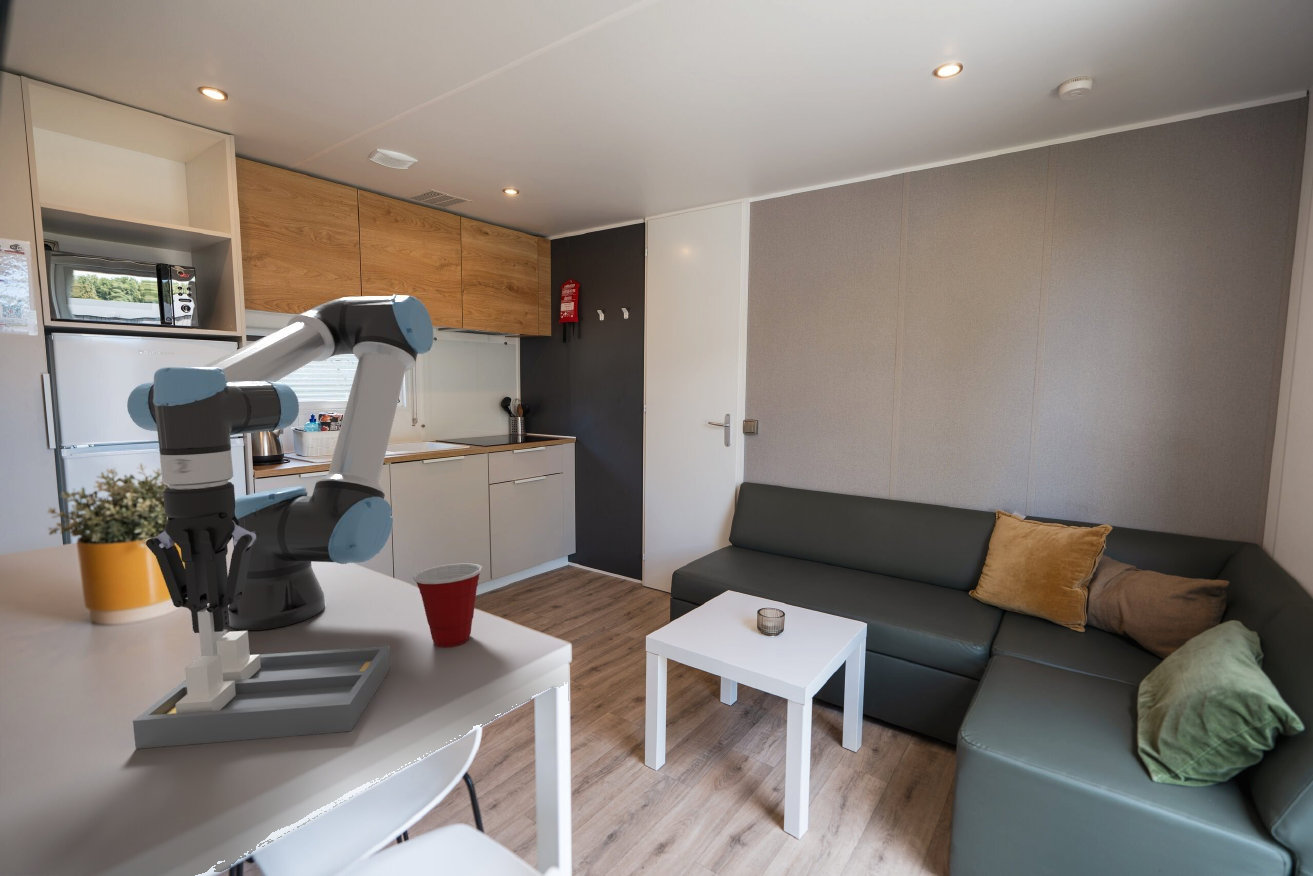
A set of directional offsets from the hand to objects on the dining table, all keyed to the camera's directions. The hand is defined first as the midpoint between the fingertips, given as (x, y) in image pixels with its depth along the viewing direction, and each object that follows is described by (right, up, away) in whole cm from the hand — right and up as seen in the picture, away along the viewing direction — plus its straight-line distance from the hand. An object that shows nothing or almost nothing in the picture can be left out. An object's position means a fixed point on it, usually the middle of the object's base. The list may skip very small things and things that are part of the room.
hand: (213, 653), depth 82 cm
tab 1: (+4, -4, -7) cm, 9 cm away
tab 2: (+2, -4, +1) cm, 4 cm away
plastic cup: (+26, -4, +18) cm, 32 cm away
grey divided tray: (+10, -6, -2) cm, 12 cm away
